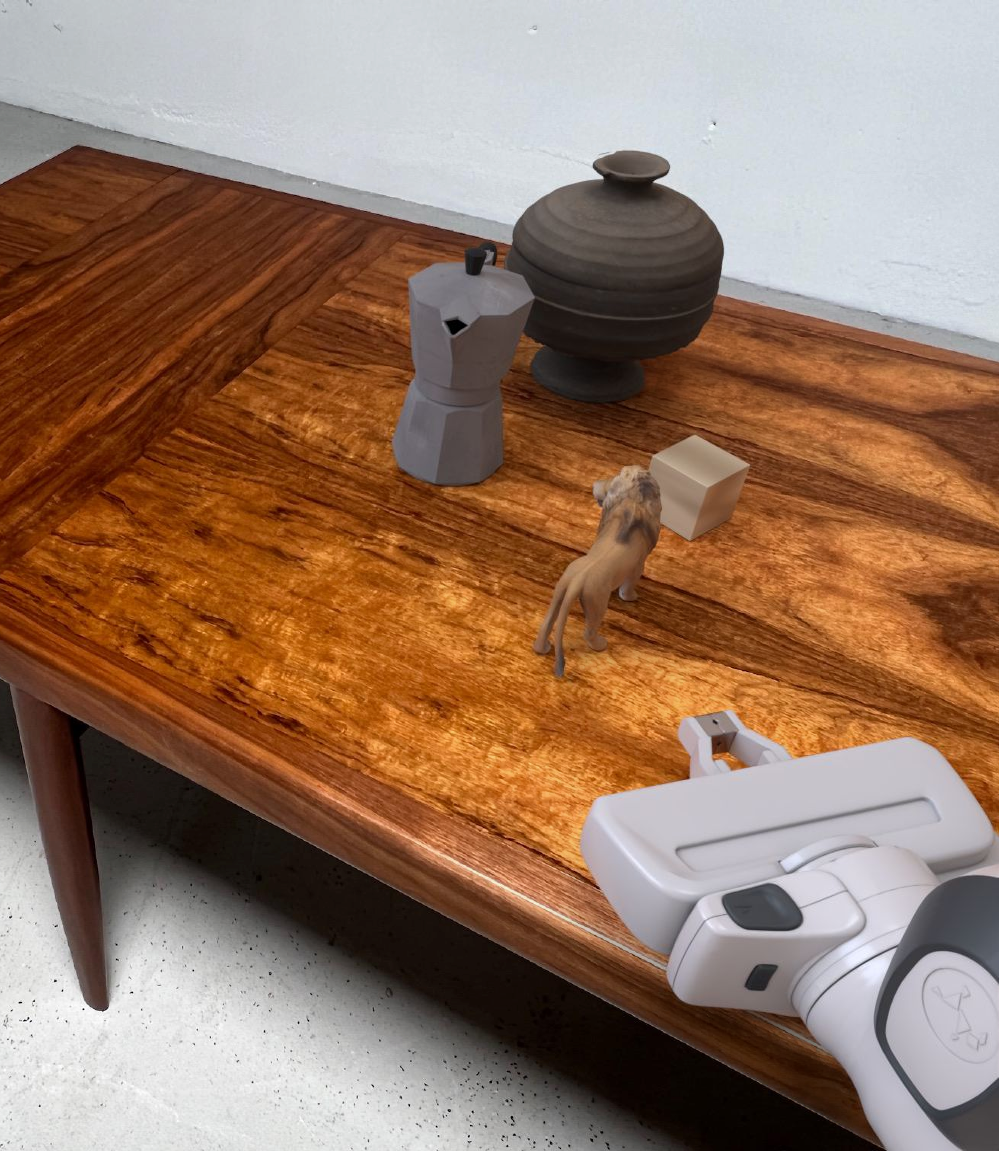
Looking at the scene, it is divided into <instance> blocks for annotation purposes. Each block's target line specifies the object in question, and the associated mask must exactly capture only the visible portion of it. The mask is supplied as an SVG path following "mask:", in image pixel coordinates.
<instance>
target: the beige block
mask: <svg viewBox="0 0 999 1151" xmlns="http://www.w3.org/2000/svg"><path fill="white" fill-rule="evenodd" d="M750 467H751V464H750V463H748V462H746V461H744V460H743V459H741V458H739V457H737V456H735V455H733V454H731V453H730V452H728V451H726V450H724V449H723V448H721V447H718V445H717V446H716V445H715V444H713V443H711V442H710V441H708V440H706V439H704V438H702V437H700V436H698V435H697V434H693V435H691V436H689V437H687V438H685V439H683V440H681V441H679V442H676V443H675V444H673V445H671V446H669V447H667V448H665V449H663V450H661V451H659V452H657V453H655V454H653V455H651V458H650V462H649V465H648V469H647V471H649V472H650V474H651V476H652V477H653V478H654V479H655V480H656V481H657V483H658V485H659V486H660V494H661V497H660V499H661V504H662V511H661V515H660V525H663V526H665V527H666V528H668V529H669V530H670V531H672V532H674V533H676V534H677V535H678V536H681V537H682V538H684V539H685V540H687V541H689V542H691V541H693V540H695V539H697V538H699V537H700V536H703V535H704V534H706V533H707V532H709V531H711V530H713V529H715V528H717V527H718V526H721V525H722V524H724V523H726V522H727V521H729V520H731V519H732V518H733V515H734V513H735V510H736V507H737V504H738V501H739V498H740V495H741V493H742V490H743V487H744V484H745V482H746V479H747V477H748V474H749V471H750Z"/></svg>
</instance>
